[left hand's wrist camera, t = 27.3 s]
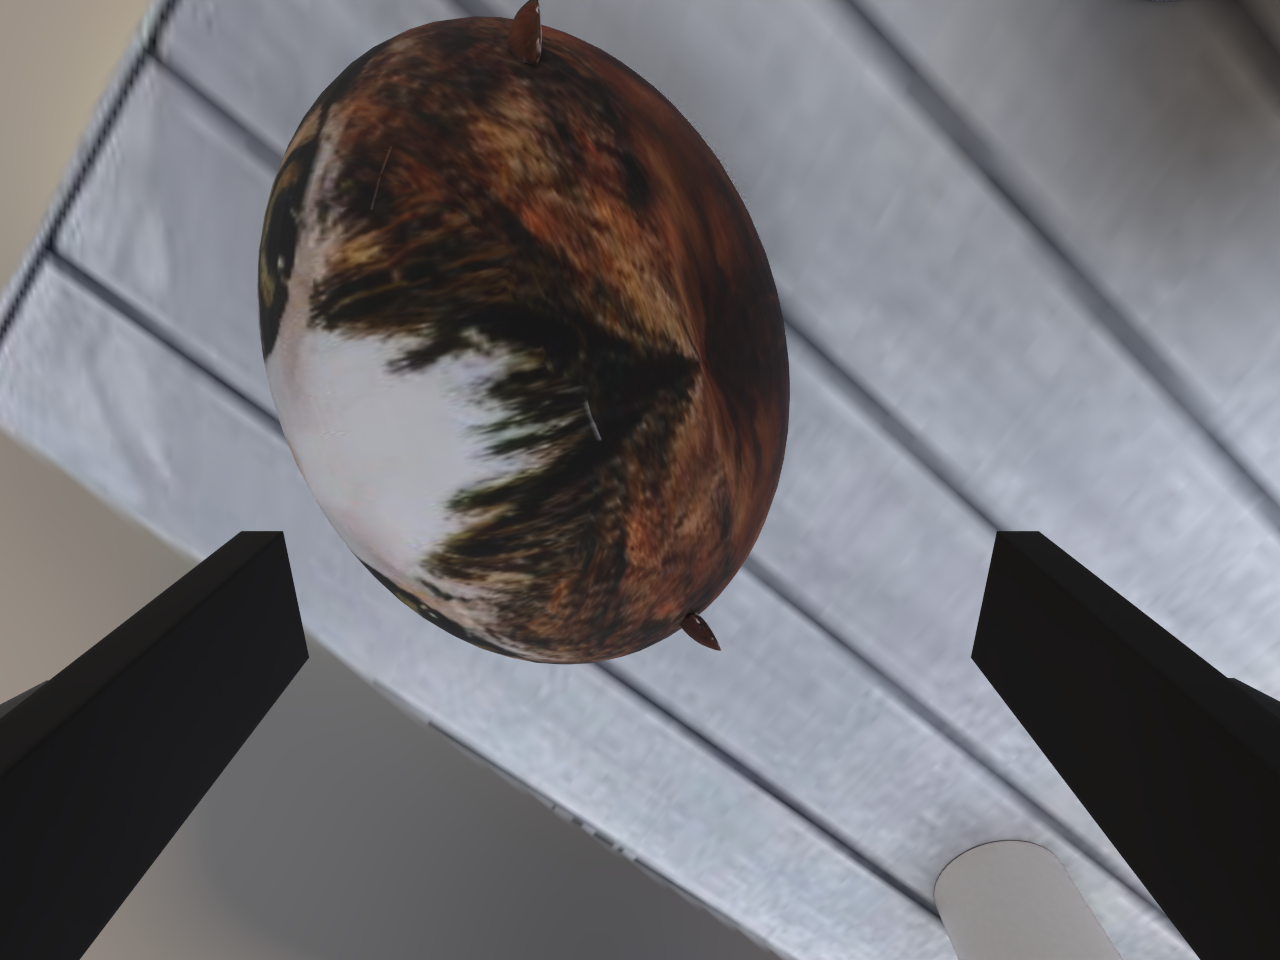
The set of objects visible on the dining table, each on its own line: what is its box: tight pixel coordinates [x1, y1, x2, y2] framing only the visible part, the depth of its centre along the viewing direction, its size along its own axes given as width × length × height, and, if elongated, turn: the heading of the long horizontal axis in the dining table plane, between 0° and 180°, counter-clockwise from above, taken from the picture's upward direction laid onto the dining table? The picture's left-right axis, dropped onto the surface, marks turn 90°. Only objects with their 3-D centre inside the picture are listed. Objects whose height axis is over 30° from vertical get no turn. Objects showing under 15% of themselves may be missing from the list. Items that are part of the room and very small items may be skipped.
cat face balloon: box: [257, 0, 790, 664], centre depth 26 cm, size 22×18×20 cm
